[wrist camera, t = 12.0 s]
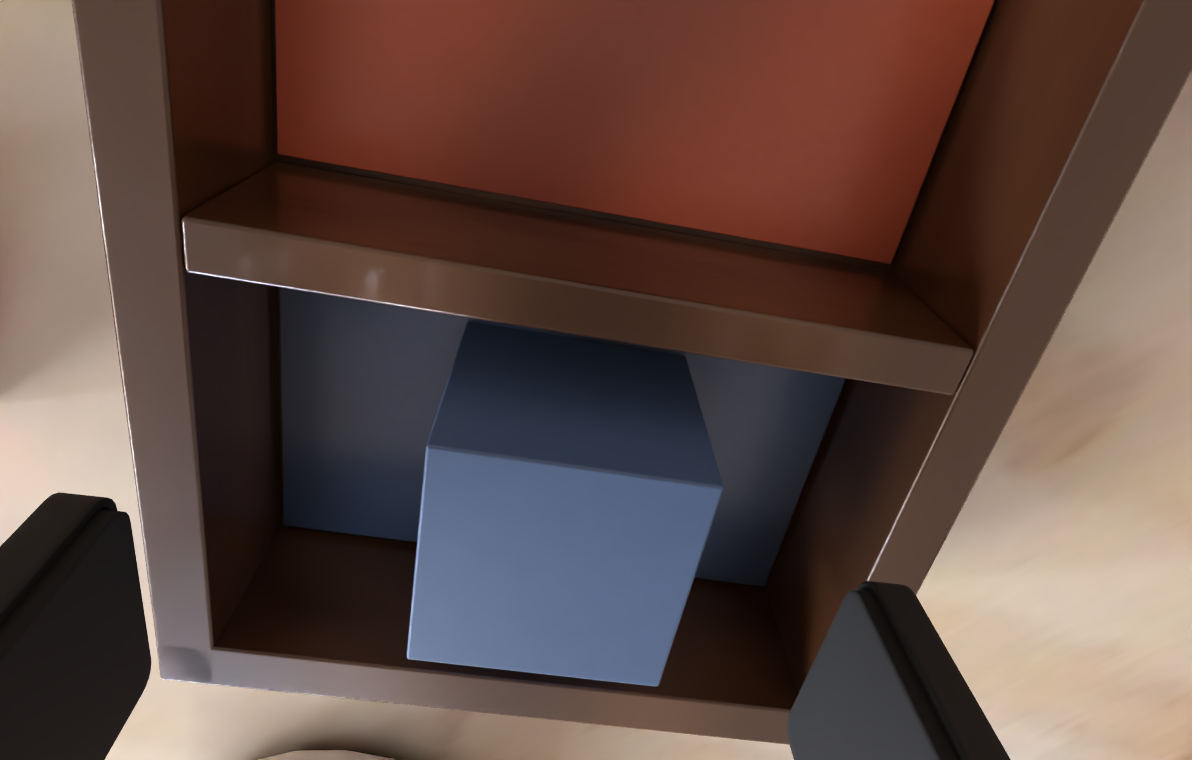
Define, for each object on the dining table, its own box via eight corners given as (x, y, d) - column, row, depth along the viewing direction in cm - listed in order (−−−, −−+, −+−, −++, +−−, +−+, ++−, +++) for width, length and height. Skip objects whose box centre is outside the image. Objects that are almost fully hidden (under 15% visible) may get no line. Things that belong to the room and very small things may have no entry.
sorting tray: (250, 529, 17) (159, 680, 13) (204, -518, 9) (-45, -855, 6) (784, 597, 18) (836, 750, 15) (1140, -264, 11) (1442, -399, 7)
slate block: (446, 499, 16) (405, 660, 12) (467, 320, 14) (425, 445, 10) (640, 525, 16) (658, 688, 12) (686, 355, 14) (725, 487, 10)
